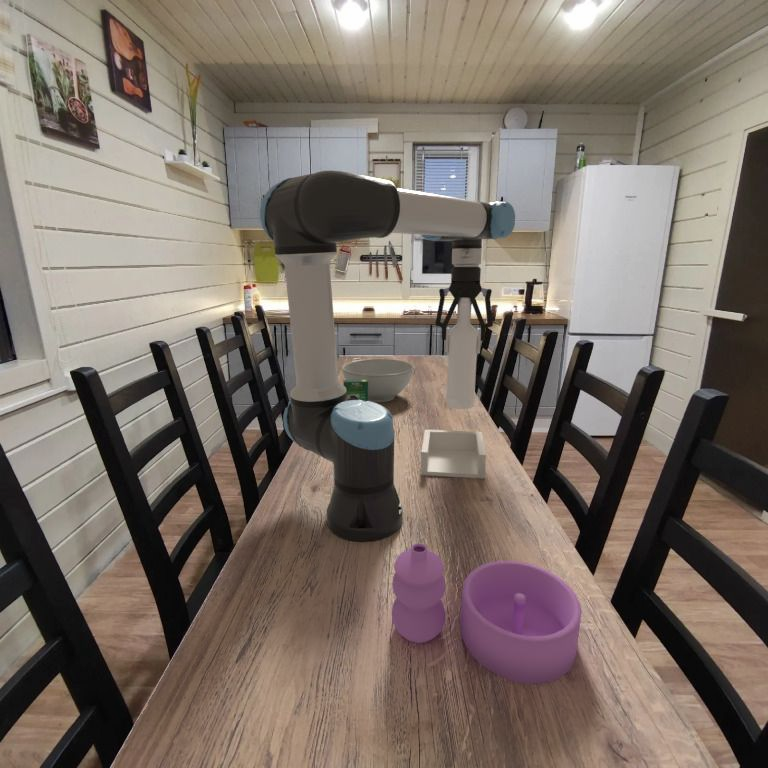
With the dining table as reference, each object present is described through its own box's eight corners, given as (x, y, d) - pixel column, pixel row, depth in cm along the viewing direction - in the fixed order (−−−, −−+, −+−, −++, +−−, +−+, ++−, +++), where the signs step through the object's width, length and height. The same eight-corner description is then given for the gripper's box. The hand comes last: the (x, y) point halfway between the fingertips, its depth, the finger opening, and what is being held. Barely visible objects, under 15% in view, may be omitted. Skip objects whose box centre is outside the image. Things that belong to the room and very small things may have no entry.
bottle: (474, 410, 124) (480, 298, 117) (445, 408, 126) (448, 298, 118) (474, 401, 132) (480, 296, 124) (447, 400, 134) (450, 295, 126)
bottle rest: (484, 478, 108) (485, 455, 107) (420, 474, 110) (421, 452, 109) (480, 452, 123) (481, 431, 121) (424, 450, 125) (424, 429, 123)
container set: (558, 599, 70) (566, 523, 67) (593, 689, 55) (606, 597, 52) (395, 590, 72) (395, 516, 69) (387, 674, 58) (386, 585, 54)
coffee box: (368, 416, 151) (367, 378, 148) (369, 419, 149) (368, 380, 145) (343, 418, 150) (342, 379, 147) (344, 421, 147) (342, 381, 144)
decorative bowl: (410, 387, 185) (411, 358, 182) (417, 408, 160) (417, 374, 156) (344, 388, 185) (343, 359, 182) (340, 409, 159) (339, 375, 156)
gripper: (425, 266, 117) (423, 353, 123) (508, 266, 114) (502, 355, 120) (427, 265, 124) (425, 348, 130) (505, 265, 121) (499, 350, 127)
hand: (462, 352), depth 125 cm, fingers closed on bottle, 8 cm apart
